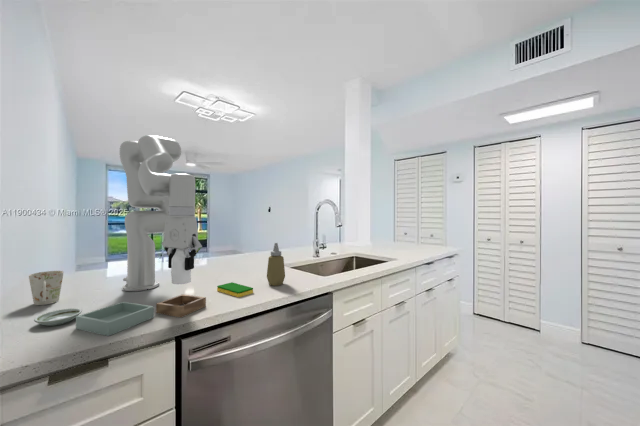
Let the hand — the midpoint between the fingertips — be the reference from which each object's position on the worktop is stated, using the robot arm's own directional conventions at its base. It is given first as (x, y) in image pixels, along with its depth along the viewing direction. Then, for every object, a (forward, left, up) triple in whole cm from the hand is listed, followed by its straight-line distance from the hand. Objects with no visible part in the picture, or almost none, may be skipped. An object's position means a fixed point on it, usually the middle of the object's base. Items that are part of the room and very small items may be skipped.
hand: (181, 267), depth 86 cm
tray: (-8, -14, -13) cm, 21 cm away
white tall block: (0, 0, -5) cm, 5 cm away
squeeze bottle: (+15, +37, -14) cm, 42 cm away
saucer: (-24, -19, -14) cm, 34 cm away
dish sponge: (+5, +22, -14) cm, 26 cm away
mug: (-47, -11, -14) cm, 50 cm away
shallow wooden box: (+1, 0, -13) cm, 13 cm away
